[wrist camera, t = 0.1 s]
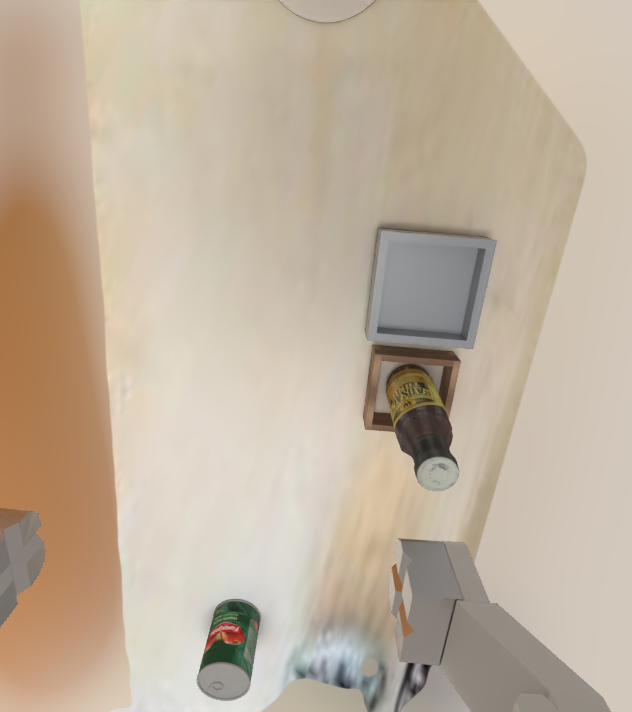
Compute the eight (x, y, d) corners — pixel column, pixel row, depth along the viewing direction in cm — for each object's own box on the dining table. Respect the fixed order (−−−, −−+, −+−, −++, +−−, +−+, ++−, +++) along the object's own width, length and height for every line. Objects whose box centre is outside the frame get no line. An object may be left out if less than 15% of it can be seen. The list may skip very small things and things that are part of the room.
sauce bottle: (416, 354, 60) (457, 430, 41) (439, 390, 61) (489, 479, 43) (373, 379, 61) (395, 464, 42) (397, 414, 63) (428, 510, 44)
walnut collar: (372, 344, 59) (375, 354, 56) (453, 351, 59) (460, 361, 56) (363, 416, 63) (365, 429, 60) (438, 422, 63) (445, 436, 60)
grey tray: (378, 227, 54) (381, 230, 51) (486, 237, 54) (496, 240, 51) (365, 331, 59) (367, 340, 55) (464, 340, 59) (473, 349, 55)
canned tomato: (235, 591, 75) (220, 656, 64) (270, 616, 77) (261, 683, 66) (204, 615, 77) (185, 682, 66) (239, 640, 79) (226, 708, 68)
